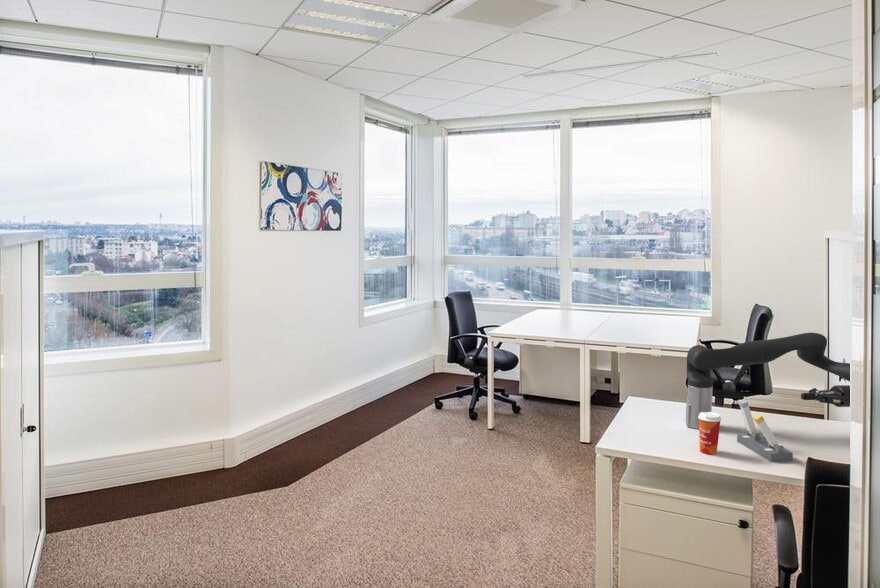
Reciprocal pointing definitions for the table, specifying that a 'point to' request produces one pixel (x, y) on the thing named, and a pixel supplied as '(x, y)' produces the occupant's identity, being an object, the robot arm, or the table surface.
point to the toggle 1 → (747, 417)
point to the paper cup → (709, 432)
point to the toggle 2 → (765, 430)
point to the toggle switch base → (764, 447)
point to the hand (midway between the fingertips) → (802, 396)
